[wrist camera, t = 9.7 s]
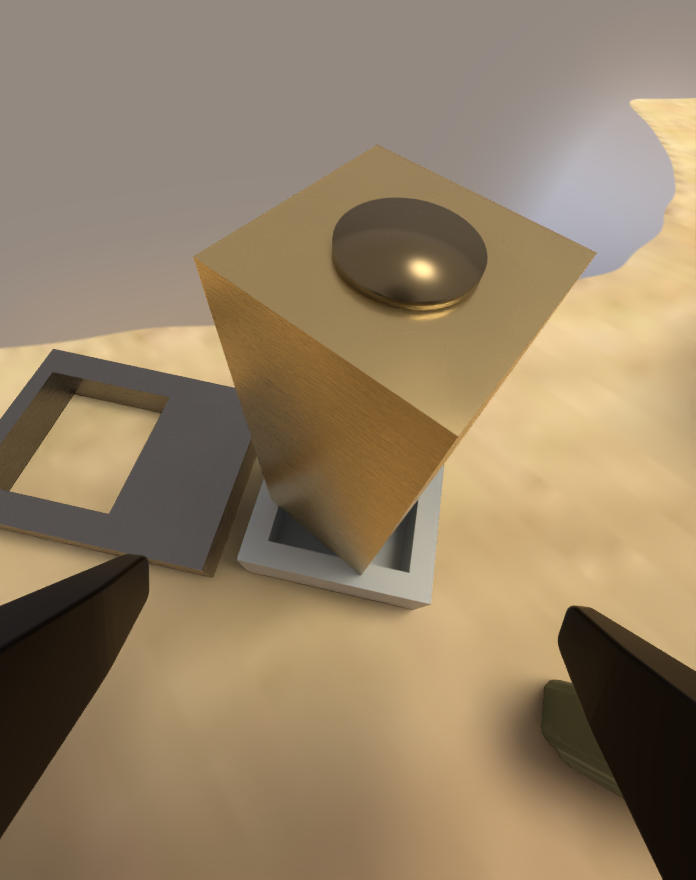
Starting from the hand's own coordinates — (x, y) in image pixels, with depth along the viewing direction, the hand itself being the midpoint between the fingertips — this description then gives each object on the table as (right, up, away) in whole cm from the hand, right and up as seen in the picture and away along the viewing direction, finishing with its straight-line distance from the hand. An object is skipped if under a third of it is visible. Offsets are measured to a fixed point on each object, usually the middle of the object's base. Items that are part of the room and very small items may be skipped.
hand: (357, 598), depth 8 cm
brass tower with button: (0, +1, +9) cm, 9 cm away
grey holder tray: (-11, +2, +12) cm, 17 cm away
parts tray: (0, 0, +12) cm, 12 cm away
